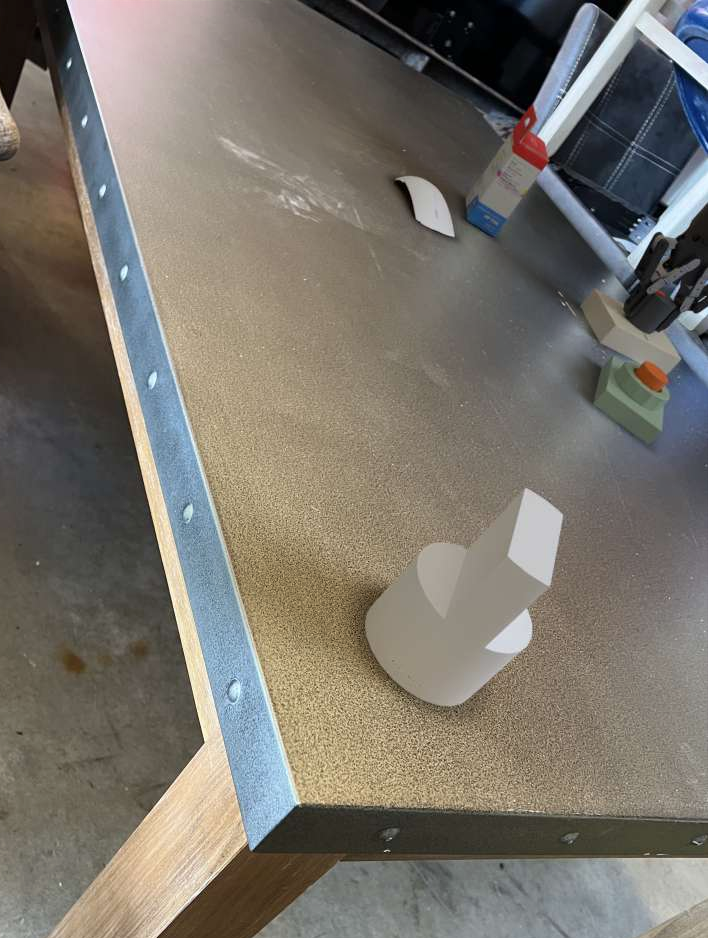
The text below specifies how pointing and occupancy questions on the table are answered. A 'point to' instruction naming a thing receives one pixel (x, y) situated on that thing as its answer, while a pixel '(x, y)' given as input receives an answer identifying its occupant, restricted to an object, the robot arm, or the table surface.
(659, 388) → the button
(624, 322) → the dial panel
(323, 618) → the table surface
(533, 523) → the cylinder with rectangular tab
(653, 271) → the robot arm
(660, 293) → the program dial
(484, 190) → the ink box
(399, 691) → the table surface
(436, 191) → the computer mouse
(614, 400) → the block
